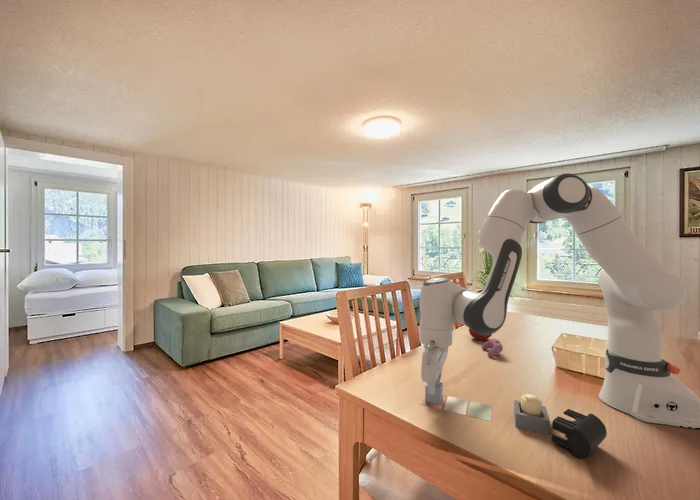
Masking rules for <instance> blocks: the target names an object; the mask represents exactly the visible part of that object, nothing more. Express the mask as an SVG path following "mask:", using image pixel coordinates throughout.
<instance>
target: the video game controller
mask: <svg viewBox="0 0 700 500" xmlns="http://www.w3.org/2000/svg"><path fill="white" fill-rule="evenodd" d="M481 349H482V350H484V351H486V350H489V351H488V352H487V357H489V358H495V357H496V356H497V355H499V354H500V353H502V352H503V349H504V348H503V345H502V343H501V341H500V340H499V339H496V338H492V337H491V338H490V339H489V340H487V341H486V342H485V343H483V344H482V346H481Z"/></svg>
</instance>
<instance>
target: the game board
mask: <svg viewBox="0 0 700 500" xmlns="http://www.w3.org/2000/svg"><path fill="white" fill-rule="evenodd" d="M446 396H447V395H446V394H442V400H441V403H440V405H438V404H434V403H430V402H426V401H425V396H424V397H423V399H422V400H421V404H420V405H422V406H425V407H430V408H434V409H439V410H443V411H445V412H450V413H455V414H458V415H459V414H460V415H463V416H468V417H471V418H476V419H480V420H483V421H487V422H492V413H493V412H492V409H493V408H492V405H489V404H485V403H481V402H477V401H472V400H471V401H470V402H469V400H468V399H463V398H460V397H459V398H458V397H455V396H449V395H448V396H447V399H446ZM445 399H446V401H445ZM444 403H445V405H444ZM468 404H469V407H468ZM443 405H444V408H443ZM442 408H443V409H442ZM467 408H468V413H467ZM466 413H467V415H466Z"/></svg>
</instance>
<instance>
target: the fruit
mask: <svg viewBox="0 0 700 500" xmlns="http://www.w3.org/2000/svg"><path fill="white" fill-rule="evenodd" d="M468 333H469V335H470V336H471V337H472V338H473V339H477V340H487V339H489V338H490V337H492V335H493V334H490V335H480V334H478V333H476V332H475V331H473V330H472V329H470V328H469V327H468Z"/></svg>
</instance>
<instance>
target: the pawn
mask: <svg viewBox="0 0 700 500" xmlns="http://www.w3.org/2000/svg"><path fill="white" fill-rule="evenodd" d="M443 384H444V383H443V382H441V379H439V377H438V379H437V381H436V383H435V386H436V391H435V394H429V393H428V385H427V383H426V384H425V386H424V387H425V388H424V389H425V390H424V394H425V395H424V397H425V401H426V402H430V403H434V404H438V405H440V403H441V400H442V395H443Z"/></svg>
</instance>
